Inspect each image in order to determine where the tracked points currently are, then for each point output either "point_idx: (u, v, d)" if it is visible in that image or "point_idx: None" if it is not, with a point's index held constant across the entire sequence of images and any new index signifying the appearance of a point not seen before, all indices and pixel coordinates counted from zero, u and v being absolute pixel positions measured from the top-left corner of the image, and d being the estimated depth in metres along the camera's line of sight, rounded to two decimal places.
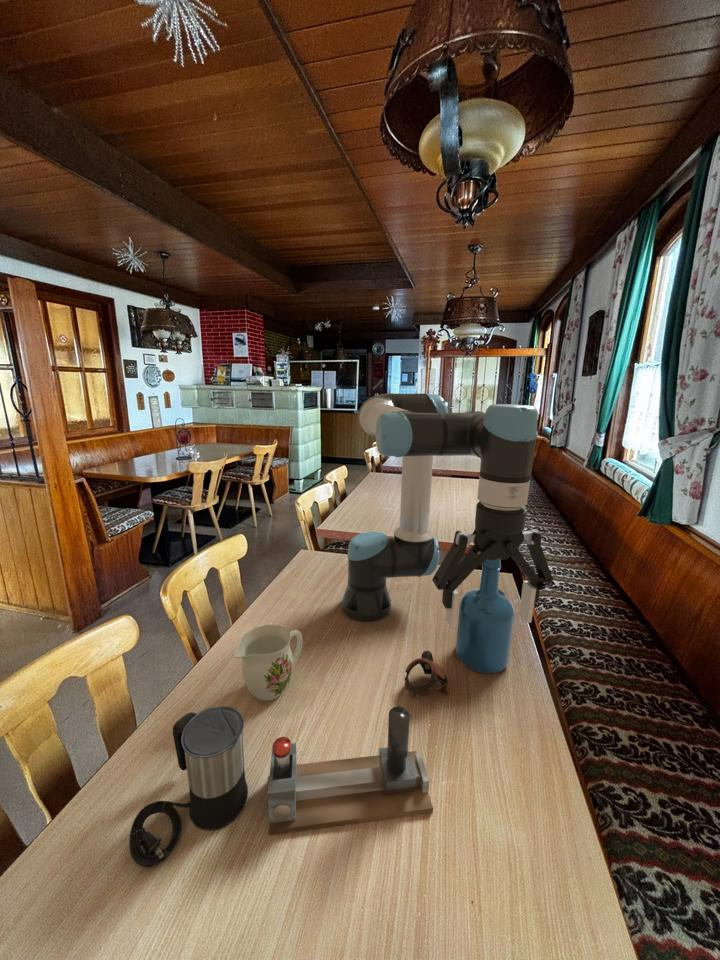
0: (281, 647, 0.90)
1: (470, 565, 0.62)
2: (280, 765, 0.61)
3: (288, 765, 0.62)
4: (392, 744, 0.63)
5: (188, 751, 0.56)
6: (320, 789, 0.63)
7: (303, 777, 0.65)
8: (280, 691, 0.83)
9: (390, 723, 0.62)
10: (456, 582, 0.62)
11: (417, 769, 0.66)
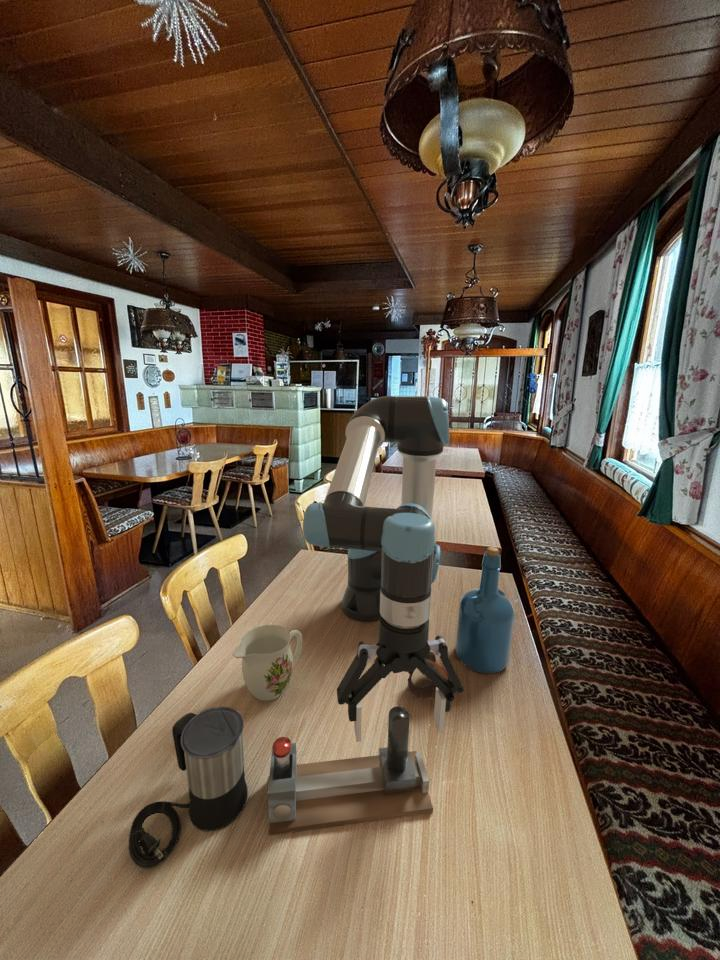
0: (281, 647, 0.90)
1: (372, 679, 0.59)
2: (280, 765, 0.61)
3: (288, 765, 0.62)
4: (392, 744, 0.63)
5: (187, 752, 0.56)
6: (320, 789, 0.63)
7: (303, 777, 0.65)
8: (280, 691, 0.83)
9: (390, 723, 0.62)
10: (358, 697, 0.59)
11: (417, 769, 0.66)
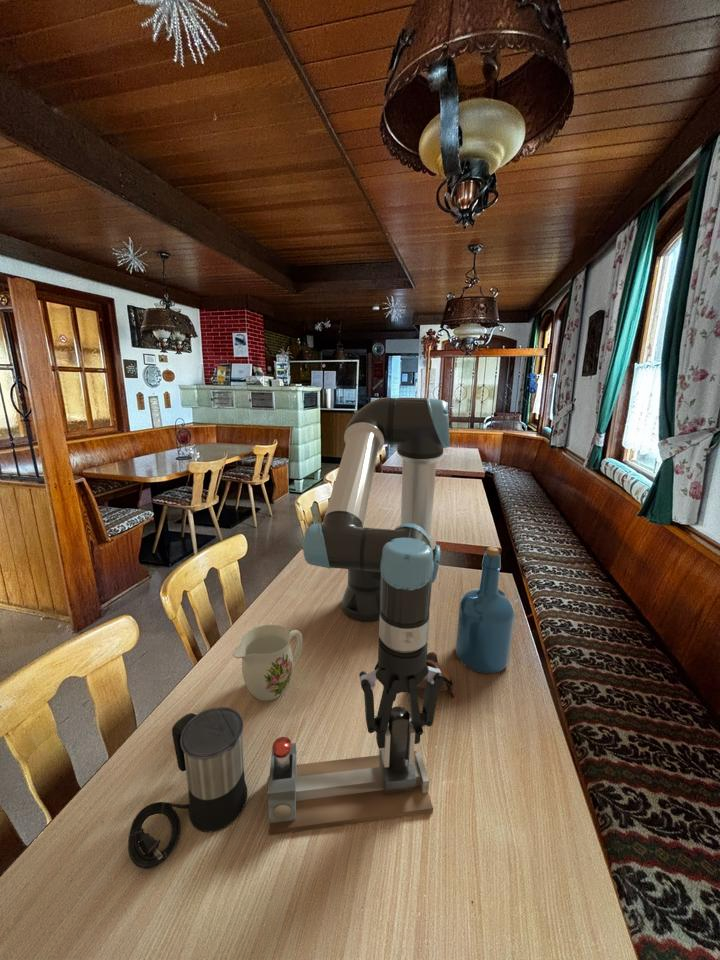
0: (281, 647, 0.90)
1: (385, 705, 0.60)
2: (280, 765, 0.61)
3: (288, 765, 0.62)
4: (392, 744, 0.63)
5: (187, 752, 0.56)
6: (320, 789, 0.63)
7: (303, 777, 0.65)
8: (280, 691, 0.83)
9: (390, 723, 0.62)
10: (383, 725, 0.61)
11: (417, 769, 0.66)
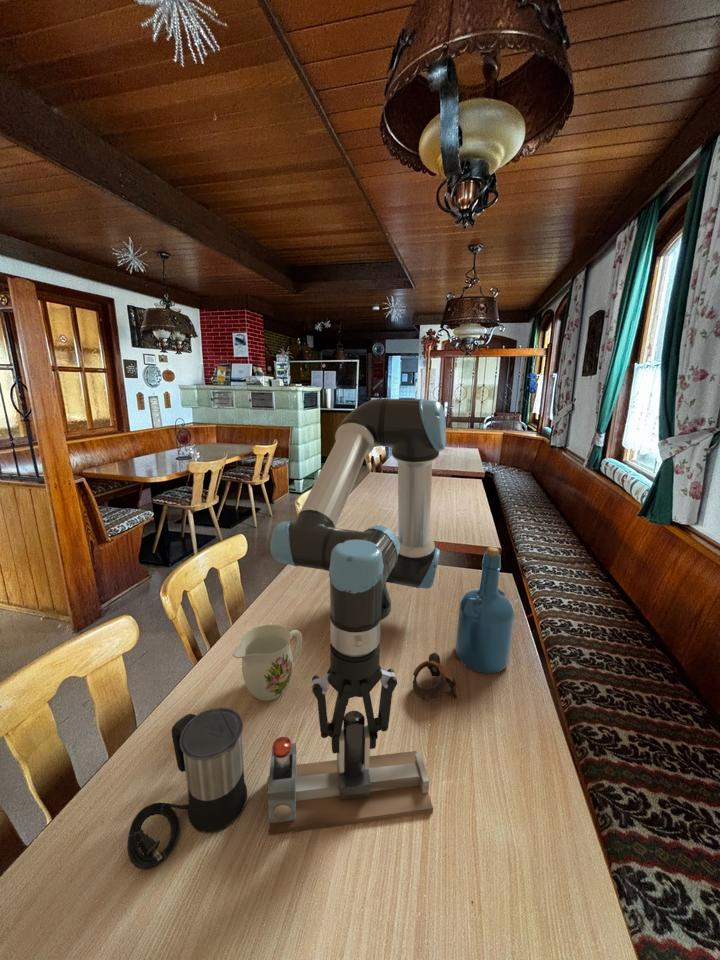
0: (281, 647, 0.90)
1: (338, 710, 0.59)
2: (280, 765, 0.61)
3: (288, 765, 0.62)
4: (347, 750, 0.62)
5: (186, 753, 0.56)
6: (320, 789, 0.63)
7: (303, 777, 0.65)
8: (280, 691, 0.83)
9: (344, 728, 0.61)
10: (336, 729, 0.60)
11: (417, 769, 0.66)
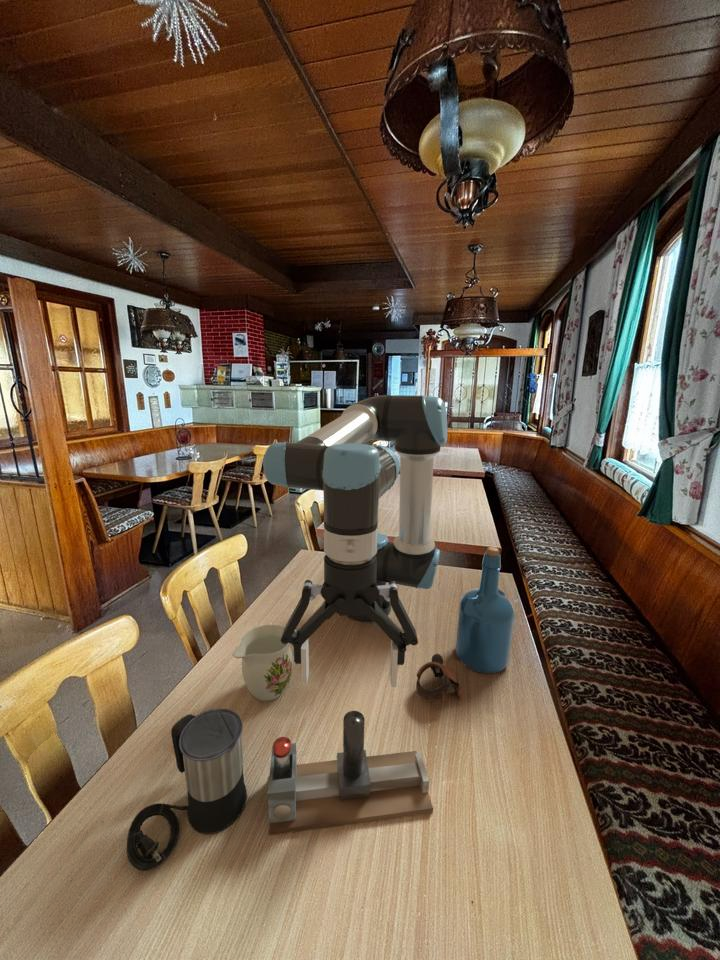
0: (281, 647, 0.90)
1: (316, 619, 0.56)
2: (280, 765, 0.61)
3: (288, 765, 0.62)
4: (347, 750, 0.62)
5: (186, 754, 0.56)
6: (320, 789, 0.63)
7: (303, 777, 0.65)
8: (280, 691, 0.83)
9: (344, 728, 0.61)
10: (302, 637, 0.56)
11: (417, 769, 0.66)
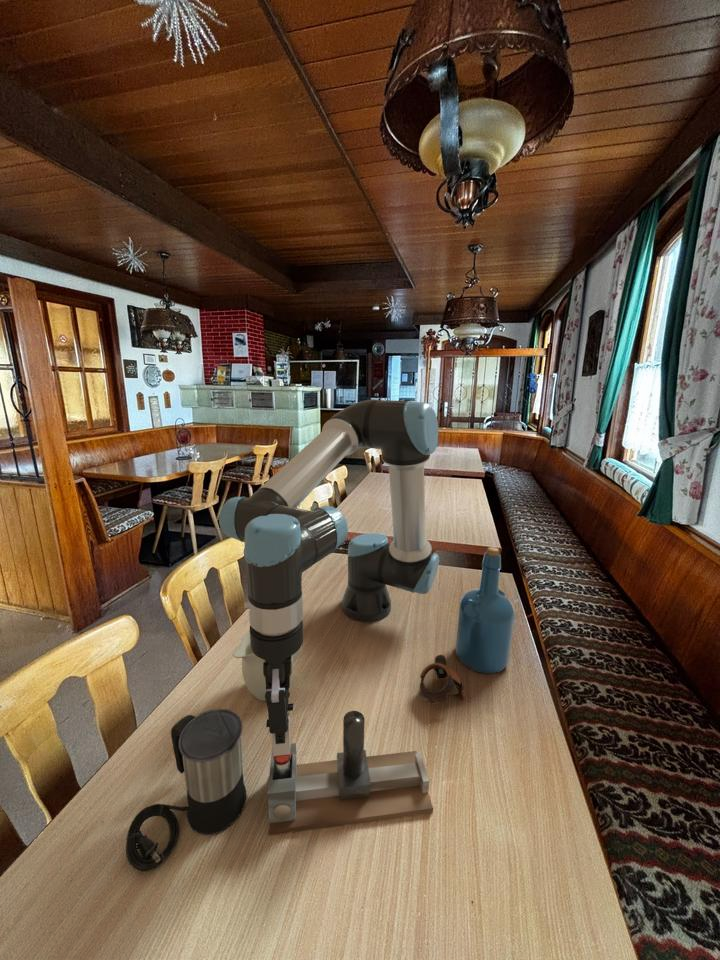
0: None
1: None
2: (280, 772, 0.61)
3: (288, 772, 0.62)
4: (347, 750, 0.62)
5: (185, 755, 0.56)
6: (320, 789, 0.63)
7: (303, 777, 0.65)
8: None
9: (344, 728, 0.61)
10: None
11: (417, 769, 0.66)
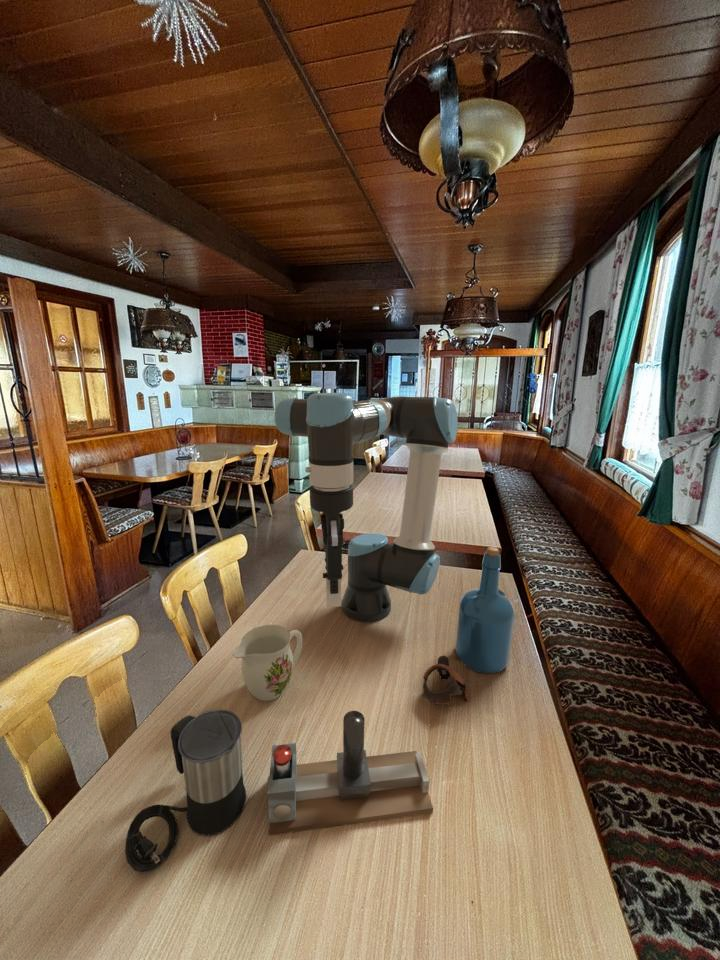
0: (281, 647, 0.90)
1: None
2: (280, 773, 0.61)
3: (288, 773, 0.62)
4: (347, 750, 0.62)
5: (185, 755, 0.56)
6: (320, 789, 0.63)
7: (303, 777, 0.65)
8: (280, 691, 0.83)
9: (344, 728, 0.61)
10: (326, 560, 0.71)
11: (417, 769, 0.66)
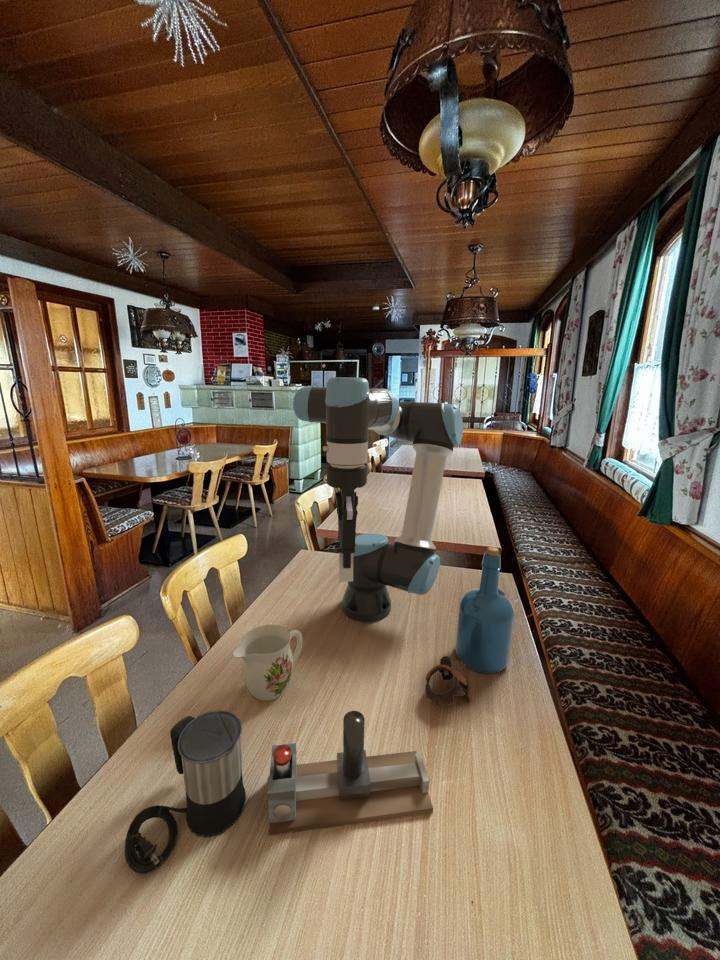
0: (281, 647, 0.90)
1: (339, 518, 0.75)
2: (280, 773, 0.61)
3: (288, 773, 0.62)
4: (347, 750, 0.62)
5: (184, 756, 0.56)
6: (320, 789, 0.63)
7: (303, 777, 0.65)
8: (280, 691, 0.83)
9: (344, 728, 0.61)
10: (339, 537, 0.76)
11: (417, 769, 0.66)
